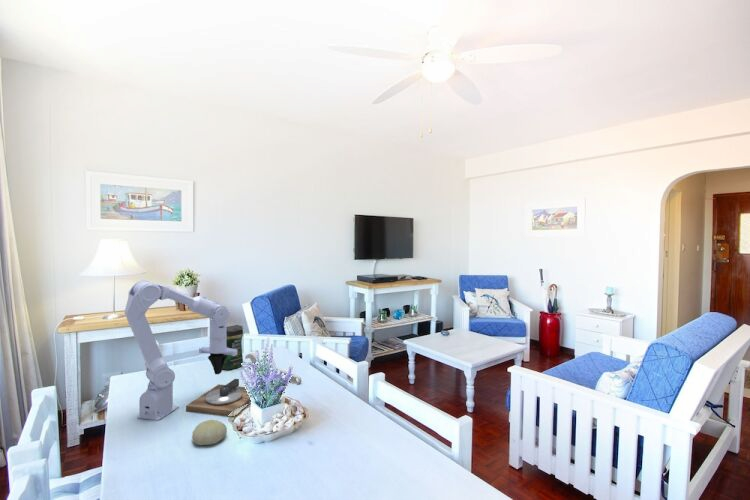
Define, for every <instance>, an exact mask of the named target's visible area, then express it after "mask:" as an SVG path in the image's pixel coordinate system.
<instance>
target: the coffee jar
mask: <svg viewBox="0 0 750 500" xmlns="http://www.w3.org/2000/svg"><path fill="white" fill-rule="evenodd" d="M243 337H244V328H243V326H242V325H239V324H235V325H231V326H226V347H227V348H231V349H236V350H237V355H236V356H232V355H228V356H227V358H226V360H225V362H224V364H223V368H222V371H224V370H227V371H229V370H230V371H231V370H233V369H237V368H240V367H242V366H241V363H243V364H244V358H243V357H244V355H243V346H242V344H243V341H242V339H243Z"/></svg>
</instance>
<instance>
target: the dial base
mask: <svg viewBox="0 0 750 500" xmlns="http://www.w3.org/2000/svg"><path fill="white" fill-rule="evenodd" d="M225 385H226V384H219V383H218V384H217V385H215V386H214V387H212V388H211V389H208V390H207V391H206V392H204V393H203V394H202V395H200V396H198V397H197V398H196V399H194V400H192V401H191V402H189V403H187V404H185V412H187V413H188V412H189V413H195V414H196V413H197V414H206V415H213V416H221V417H229V416H228V415H229V414H230V413H231V412H232V411H234V410H235V409H237V408H240V407H242V406H244V405H246V404H249V403H250V402H251V400H250V397H249V395H248V394H247V391H246V389H245V386H240V385H239V386H238V387H236V388H238V389H240V390H242V397H241V398H240V399H239V400H238V401H236V402H233V403H230V404H225V405H211V404H208V403H207V402H206V395H207V394H208V393H210V392H212V391H214V390H217V389H220V387H222V386H225Z"/></svg>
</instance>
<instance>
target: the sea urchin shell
mask: <svg viewBox="0 0 750 500" xmlns="http://www.w3.org/2000/svg"><path fill="white" fill-rule="evenodd" d="M227 431H228V429H227V426H226V424H225V423H224V422H222V421H219V420H217V419H207V420H204V421H202V422H200V423H198V424H197V425H196V426H195V428H194V430H193V431H192V437H191V438H192V441H193V442H194V444H195V445H198V446H210V445H215V444H217V443H219V442H220V441H222V439H224V438H225V436H226V434H227Z"/></svg>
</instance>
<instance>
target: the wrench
mask: <svg viewBox="0 0 750 500" xmlns="http://www.w3.org/2000/svg"><path fill="white" fill-rule="evenodd" d="M256 355H257V354H256V353H254V352H251V353H247V354H246V356H245V357H244V360H246V359H250V361H251V364H252V363H254V364H255V363H256ZM246 367H247V369H249V370H250V371H251V368H250V367H248V365H246ZM277 368H278V367H277ZM278 370H279V371H280V372H283V373H284V375H286V374H287V372H288V371H286V370H284V369H281V368H278ZM289 383H292V384H294V385H300V384H302V377H301V376H299V375H296V374H294V373H292V377H291V379H290V382H289Z"/></svg>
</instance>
